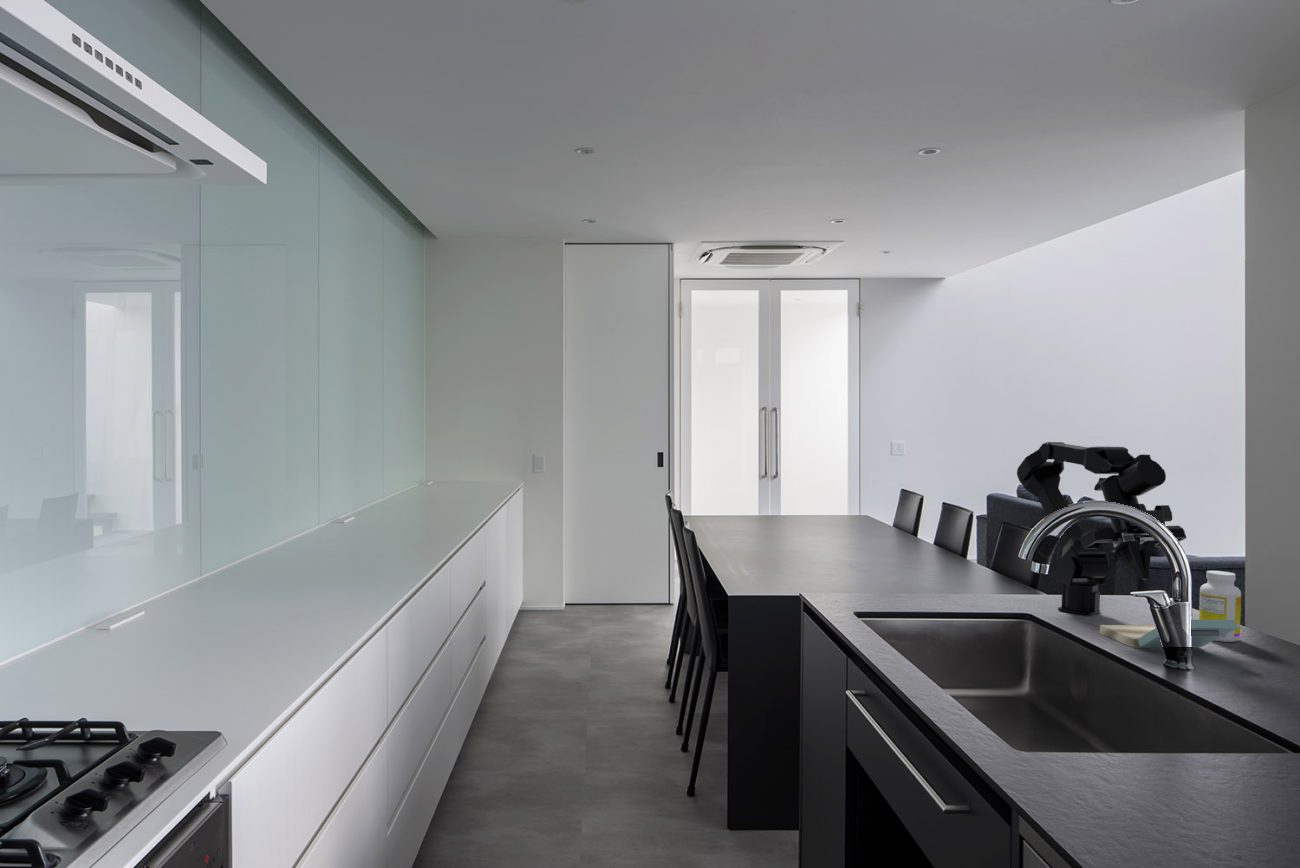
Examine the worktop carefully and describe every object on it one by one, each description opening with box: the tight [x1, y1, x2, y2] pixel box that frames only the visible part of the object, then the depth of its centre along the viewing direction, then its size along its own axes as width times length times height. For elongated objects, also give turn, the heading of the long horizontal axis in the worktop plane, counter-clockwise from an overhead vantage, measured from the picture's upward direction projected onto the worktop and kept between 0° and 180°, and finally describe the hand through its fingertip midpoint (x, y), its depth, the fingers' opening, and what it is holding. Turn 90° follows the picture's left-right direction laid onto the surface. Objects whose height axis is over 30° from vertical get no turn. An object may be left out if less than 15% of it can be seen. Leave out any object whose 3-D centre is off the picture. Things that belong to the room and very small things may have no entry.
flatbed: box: [1099, 624, 1200, 649], centre depth 160 cm, size 10×13×2 cm
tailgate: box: [1137, 619, 1238, 648], centre depth 150 cm, size 2×12×10 cm
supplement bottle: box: [1198, 570, 1242, 643], centre depth 162 cm, size 7×7×13 cm
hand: (1145, 579), depth 163 cm, fingers closed
